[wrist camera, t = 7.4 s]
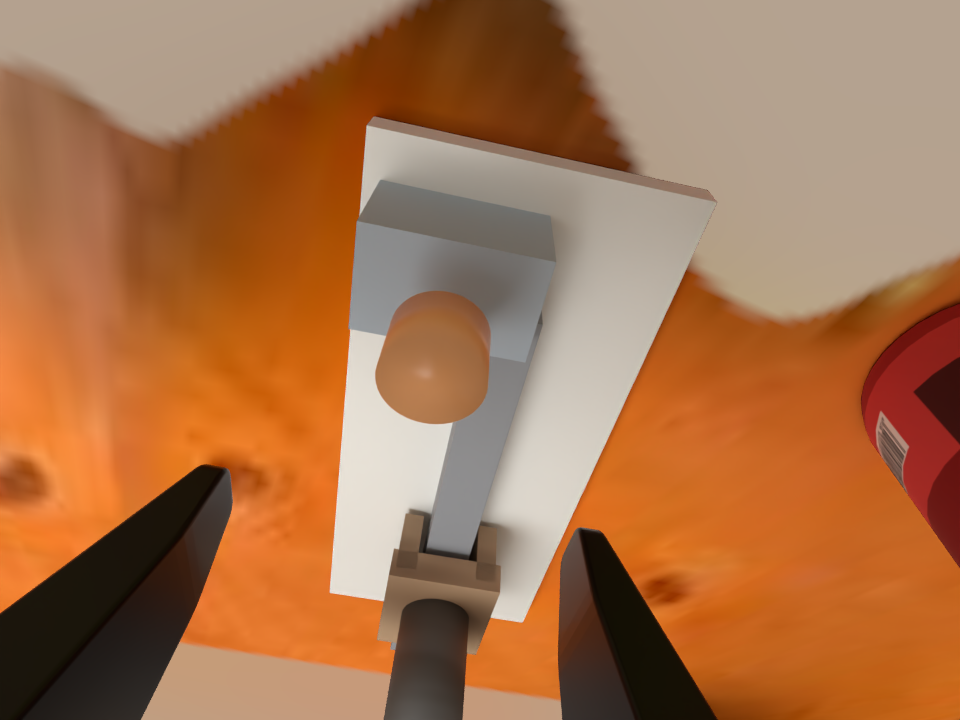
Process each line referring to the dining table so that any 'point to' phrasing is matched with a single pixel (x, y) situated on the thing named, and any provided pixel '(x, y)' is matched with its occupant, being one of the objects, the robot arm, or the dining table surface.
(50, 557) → the dining table surface
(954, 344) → the canned food
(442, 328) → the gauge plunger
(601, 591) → the robot arm
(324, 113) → the dining table surface
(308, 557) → the dining table surface
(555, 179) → the plate
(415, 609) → the carriage
